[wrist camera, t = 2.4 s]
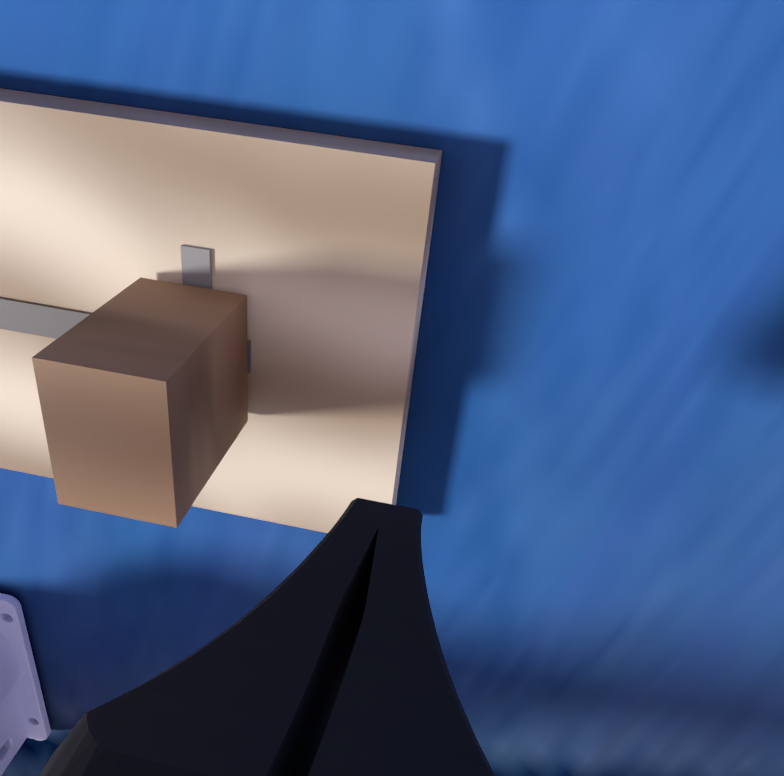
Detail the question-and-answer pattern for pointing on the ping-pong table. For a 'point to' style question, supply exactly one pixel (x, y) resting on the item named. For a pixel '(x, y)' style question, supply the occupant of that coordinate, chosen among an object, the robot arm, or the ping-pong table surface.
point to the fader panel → (227, 280)
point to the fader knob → (145, 399)
